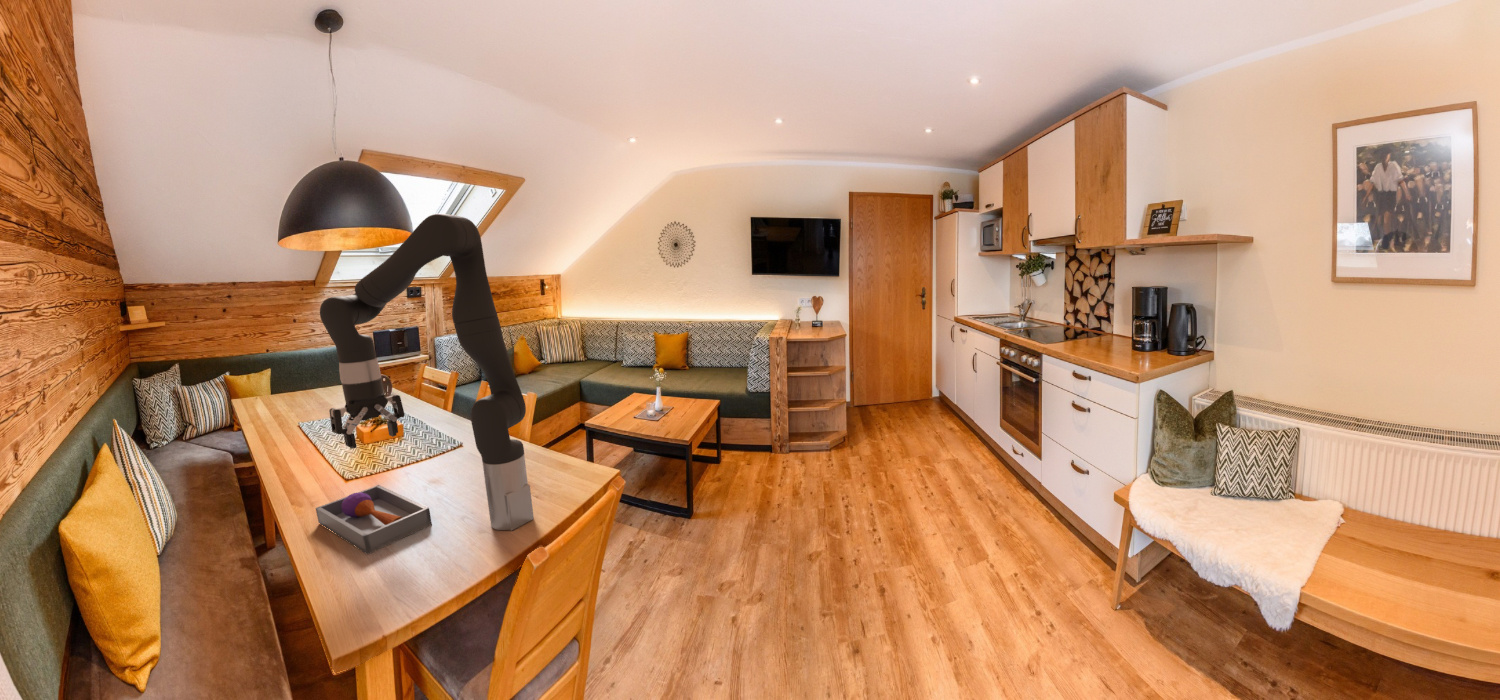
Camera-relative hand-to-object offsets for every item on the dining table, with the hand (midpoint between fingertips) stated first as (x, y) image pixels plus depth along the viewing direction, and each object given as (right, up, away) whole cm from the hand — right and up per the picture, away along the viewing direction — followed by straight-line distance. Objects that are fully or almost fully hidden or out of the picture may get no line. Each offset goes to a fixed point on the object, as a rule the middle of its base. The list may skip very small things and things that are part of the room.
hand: (373, 441), depth 117 cm
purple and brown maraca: (0, -20, +1) cm, 20 cm away
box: (-1, -21, +1) cm, 21 cm away
